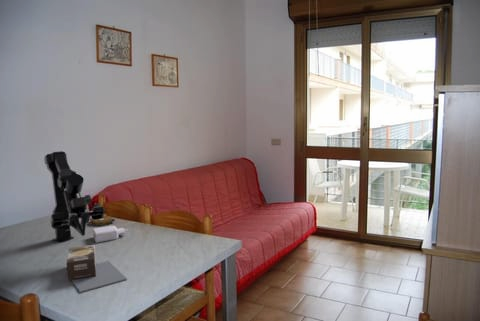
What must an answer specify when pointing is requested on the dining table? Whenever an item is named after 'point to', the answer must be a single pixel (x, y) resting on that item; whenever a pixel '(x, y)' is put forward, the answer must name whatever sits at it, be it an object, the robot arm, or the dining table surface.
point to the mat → (100, 278)
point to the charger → (107, 233)
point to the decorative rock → (103, 220)
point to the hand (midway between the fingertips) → (83, 235)
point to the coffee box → (81, 262)
